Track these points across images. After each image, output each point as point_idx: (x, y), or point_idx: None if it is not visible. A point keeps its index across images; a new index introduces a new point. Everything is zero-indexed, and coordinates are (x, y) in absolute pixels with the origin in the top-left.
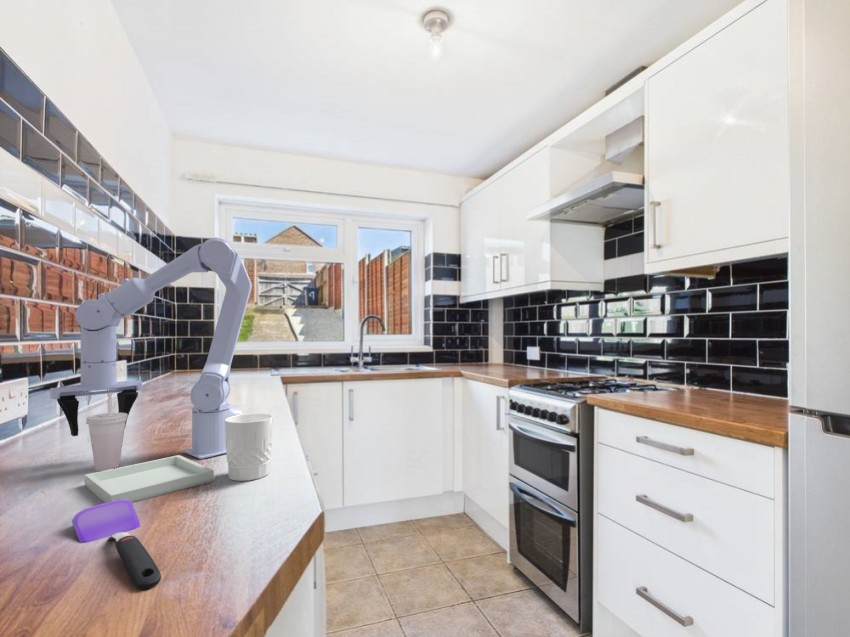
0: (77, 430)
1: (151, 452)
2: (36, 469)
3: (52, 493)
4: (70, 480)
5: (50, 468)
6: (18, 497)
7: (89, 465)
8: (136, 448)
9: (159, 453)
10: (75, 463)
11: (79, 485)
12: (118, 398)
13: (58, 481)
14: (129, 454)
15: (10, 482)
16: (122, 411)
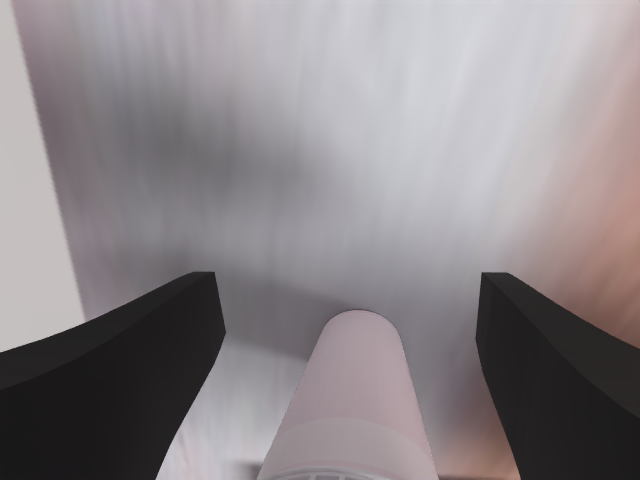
0: (209, 364)
1: (597, 238)
2: (132, 146)
3: (200, 465)
4: (241, 395)
5: (181, 176)
6: None
7: (314, 255)
8: (601, 61)
9: (608, 289)
10: (271, 168)
11: (259, 456)
12: (616, 456)
13: (211, 378)
14: (505, 190)
15: (81, 275)
16: (523, 449)
